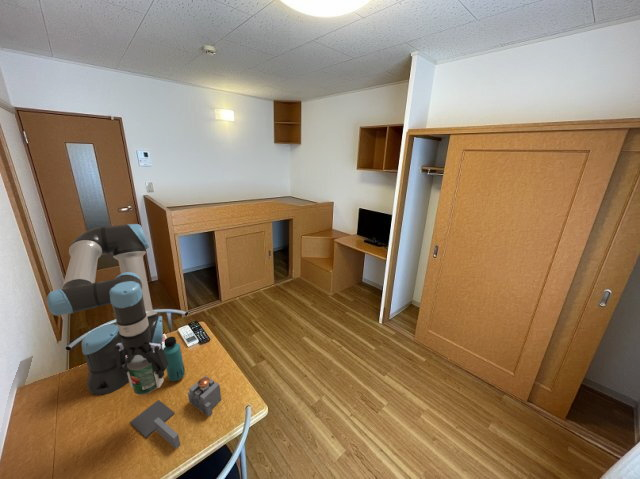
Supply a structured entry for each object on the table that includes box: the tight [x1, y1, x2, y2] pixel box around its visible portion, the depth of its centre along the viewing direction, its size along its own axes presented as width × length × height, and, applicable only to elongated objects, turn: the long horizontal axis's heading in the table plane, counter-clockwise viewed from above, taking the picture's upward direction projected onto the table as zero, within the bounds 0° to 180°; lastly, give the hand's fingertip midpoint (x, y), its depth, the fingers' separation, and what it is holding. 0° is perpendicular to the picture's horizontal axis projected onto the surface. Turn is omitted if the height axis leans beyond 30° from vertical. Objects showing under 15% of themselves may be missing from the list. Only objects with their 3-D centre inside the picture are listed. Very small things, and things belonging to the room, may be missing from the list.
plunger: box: [197, 376, 211, 394], centre depth 97 cm, size 4×4×7 cm
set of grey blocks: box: [154, 375, 222, 450], centre depth 93 cm, size 11×20×8 cm, turn 151°
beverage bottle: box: [163, 336, 186, 382], centre depth 106 cm, size 6×7×20 cm
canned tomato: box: [127, 355, 157, 396], centre depth 86 cm, size 8×8×11 cm
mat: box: [129, 399, 176, 439], centre depth 92 cm, size 10×10×1 cm
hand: (147, 384), depth 88 cm, fingers closed on canned tomato, 8 cm apart
